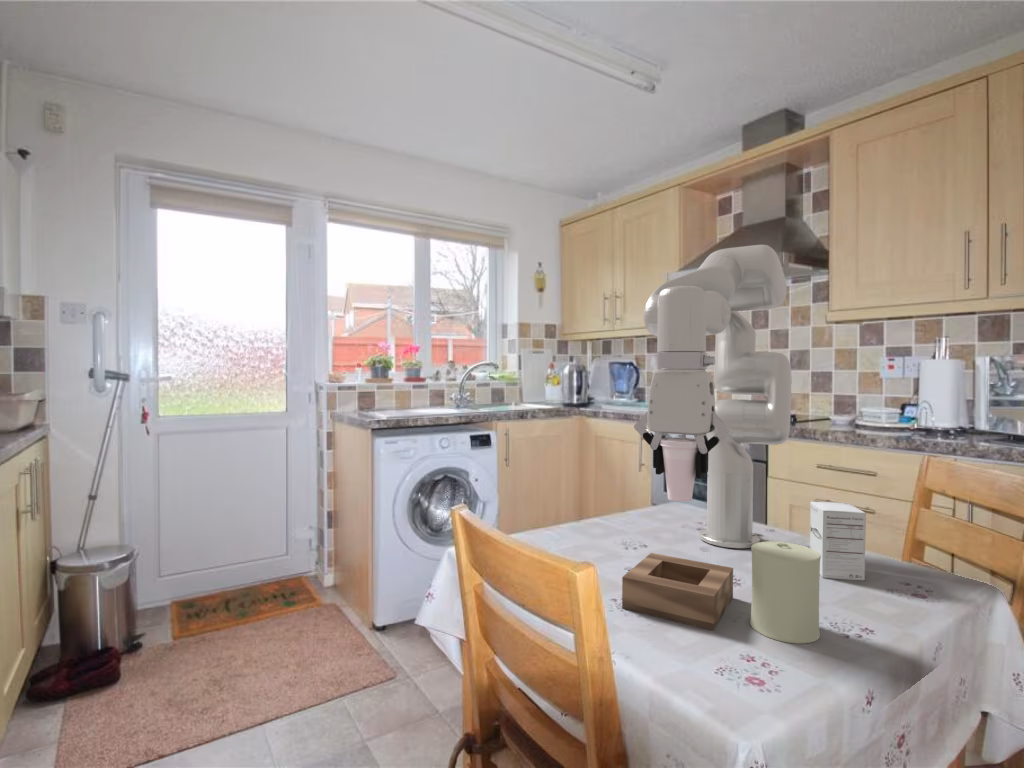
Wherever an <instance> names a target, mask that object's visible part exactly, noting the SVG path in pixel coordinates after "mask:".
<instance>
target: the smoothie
mask: <svg viewBox="0 0 1024 768" xmlns="http://www.w3.org/2000/svg"><path fill="white" fill-rule="evenodd" d="M660 445H661V446H662V450H663V459H664V467H665V472H664V473H665V484H666V491H667V492H666V493H667V499H668V500H670V501H674V502H683V503H684V502H691V501H692V500H693V493H694V487H695V478H696V454H697V453H698V449H699V448H698V445H697V443H696V440H695V438H692V437H687V435H684V434H681V436H680V437H676V436H675V437H666V438H662V439H661V441H660Z"/></svg>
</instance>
